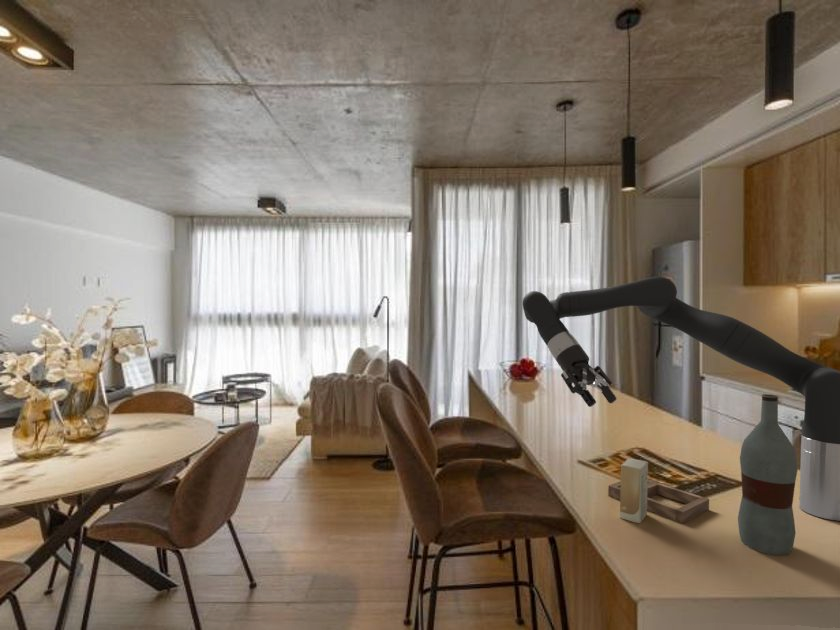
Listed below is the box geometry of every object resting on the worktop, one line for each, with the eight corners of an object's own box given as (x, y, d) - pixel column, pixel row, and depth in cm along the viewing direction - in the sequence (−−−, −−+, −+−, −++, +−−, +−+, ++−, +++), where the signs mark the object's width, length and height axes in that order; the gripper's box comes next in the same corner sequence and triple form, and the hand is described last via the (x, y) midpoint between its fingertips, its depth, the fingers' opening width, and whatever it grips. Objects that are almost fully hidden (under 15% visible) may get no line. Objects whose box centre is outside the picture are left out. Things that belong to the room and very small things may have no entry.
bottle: (796, 544, 96) (801, 395, 95) (792, 562, 89) (798, 402, 88) (740, 529, 102) (745, 389, 101) (733, 545, 95) (737, 395, 94)
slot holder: (708, 509, 112) (709, 498, 112) (682, 523, 104) (682, 512, 104) (635, 484, 126) (635, 475, 126) (608, 495, 119) (608, 485, 119)
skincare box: (627, 509, 111) (628, 457, 111) (647, 514, 109) (648, 461, 108) (618, 518, 106) (620, 464, 106) (639, 524, 104) (641, 468, 103)
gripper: (558, 344, 122) (595, 397, 113) (592, 342, 130) (630, 392, 121) (541, 362, 127) (576, 414, 118) (575, 359, 135) (610, 408, 126)
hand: (603, 403), depth 119 cm, fingers open, 8 cm apart
